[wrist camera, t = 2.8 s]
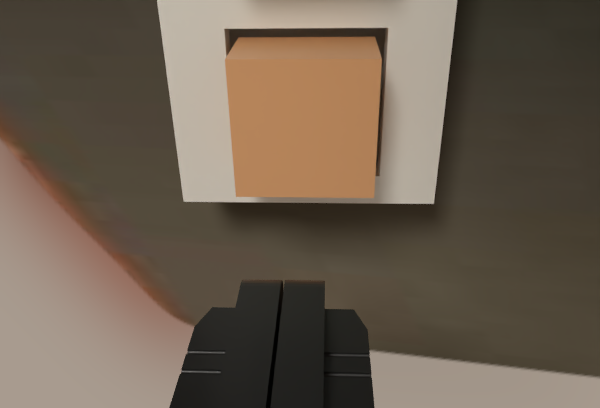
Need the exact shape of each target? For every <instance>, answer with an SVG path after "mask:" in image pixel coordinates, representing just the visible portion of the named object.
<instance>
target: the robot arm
mask: <svg viewBox="0 0 600 408" xmlns="http://www.w3.org/2000/svg"><path fill="white" fill-rule="evenodd" d="M324 302H325V281H303V280H285V284H284V292H283V281H282V280H242V282H241V286H240V290H239V294H238V299H237V303H236V308H217V307H212V308H211V309H210V311H209V312H208V313H207V314H206V315H205V316H204V317H203V318H202V319H201V320H200V321H199V323H198V324H197V325H196V326H195V327H194V331H193V334H192V337H191V340H190V343H189V347H188V353H187V354H186V356H185V359H184V363H183V367H182V372H181V374H180V376H179V379H178V382H177V385H176V388H175V392H174V395H173V398H172V401H171V405H170V408H374V398H373V387H372V378H371V364H370V357H369V354H370V353H369V342H368V331H367V328H366V327H365V325H364V324H363V323H362V321H361V320H360V318H359V317H358V315H357V314H356V312H355V311H354V310H344V309H324Z"/></svg>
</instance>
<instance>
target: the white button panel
mask: <svg viewBox="0 0 600 408" xmlns="http://www.w3.org/2000/svg"><path fill="white" fill-rule="evenodd" d="M157 3H158V11H159V18H160V26H161V34H162V41H163V49H164V56H165V64H166V71H167V79H168V87H169V94H170V102H171V109H172V117H173V124H174V132H175V139H176V147H177V155H178V162H179V170H180V177H181V185H182V192H183V200H184V202H271V203H381V204H434V199H435V190H436V181H437V173H438V164H439V155H440V147H441V138H442V129H443V121H444V112H445V103H446V95H447V86H448V77H449V69H450V60H451V51H452V43H453V34H454V25H455V17H456V8H457V0H157ZM238 37H375V38H376V42H377V45H378V48H379V51H380V54H381V58H382V66H381V84H380V102H379V120H378V138H377V156H376V174H375V192H374V198H313V197H236V192H235V180H234V167H233V155H232V142H231V130H230V117H229V105H228V93H227V80H226V68H225V58H226V57H227V55H228V54H229V52H230V50H231V49H232V47H233V46H234V44H235V42H236V41H237V39H238Z"/></svg>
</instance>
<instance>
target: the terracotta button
mask: <svg viewBox="0 0 600 408" xmlns="http://www.w3.org/2000/svg"><path fill="white" fill-rule="evenodd" d="M381 66H382V58H381V54H380V51H379V48H378V45H377V42H376V38H375V37H238V39H237V41H236V42H235V44H234V46H233V47H232V49H231V50H230V52H229V54H228V55H227V57H226V58H225V68H226V80H227V93H228V105H229V117H230V130H231V142H232V155H233V167H234V180H235V192H236V197H313V198H374V192H375V174H376V156H377V138H378V120H379V102H380V84H381Z"/></svg>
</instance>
